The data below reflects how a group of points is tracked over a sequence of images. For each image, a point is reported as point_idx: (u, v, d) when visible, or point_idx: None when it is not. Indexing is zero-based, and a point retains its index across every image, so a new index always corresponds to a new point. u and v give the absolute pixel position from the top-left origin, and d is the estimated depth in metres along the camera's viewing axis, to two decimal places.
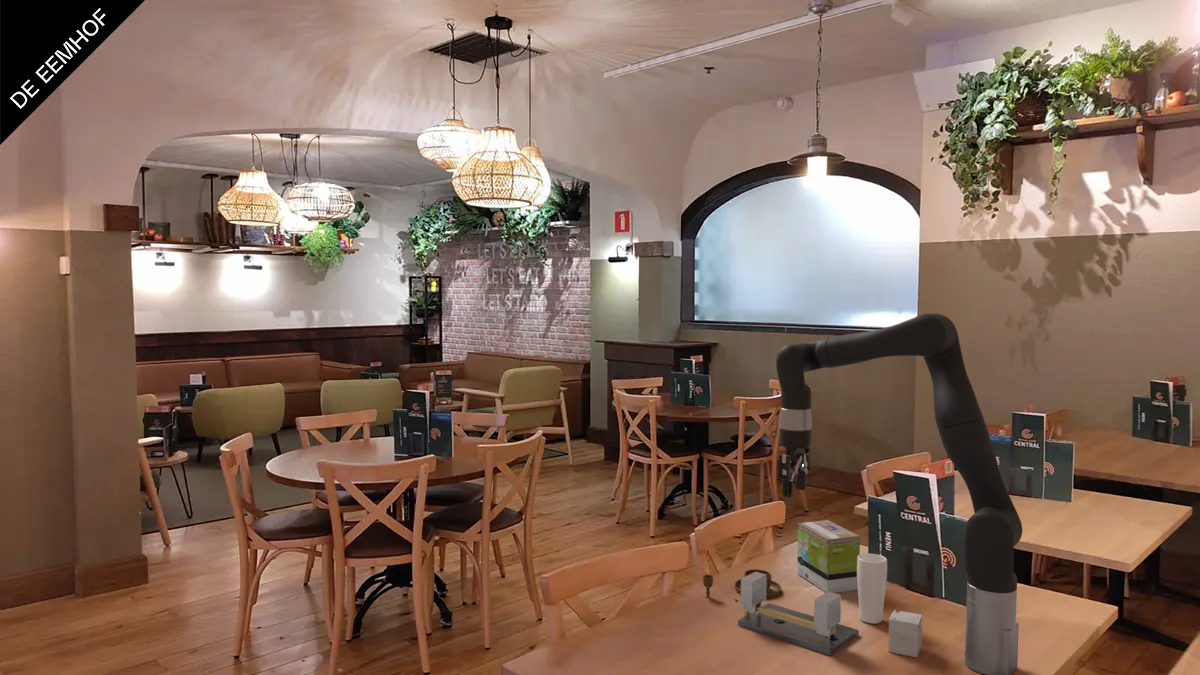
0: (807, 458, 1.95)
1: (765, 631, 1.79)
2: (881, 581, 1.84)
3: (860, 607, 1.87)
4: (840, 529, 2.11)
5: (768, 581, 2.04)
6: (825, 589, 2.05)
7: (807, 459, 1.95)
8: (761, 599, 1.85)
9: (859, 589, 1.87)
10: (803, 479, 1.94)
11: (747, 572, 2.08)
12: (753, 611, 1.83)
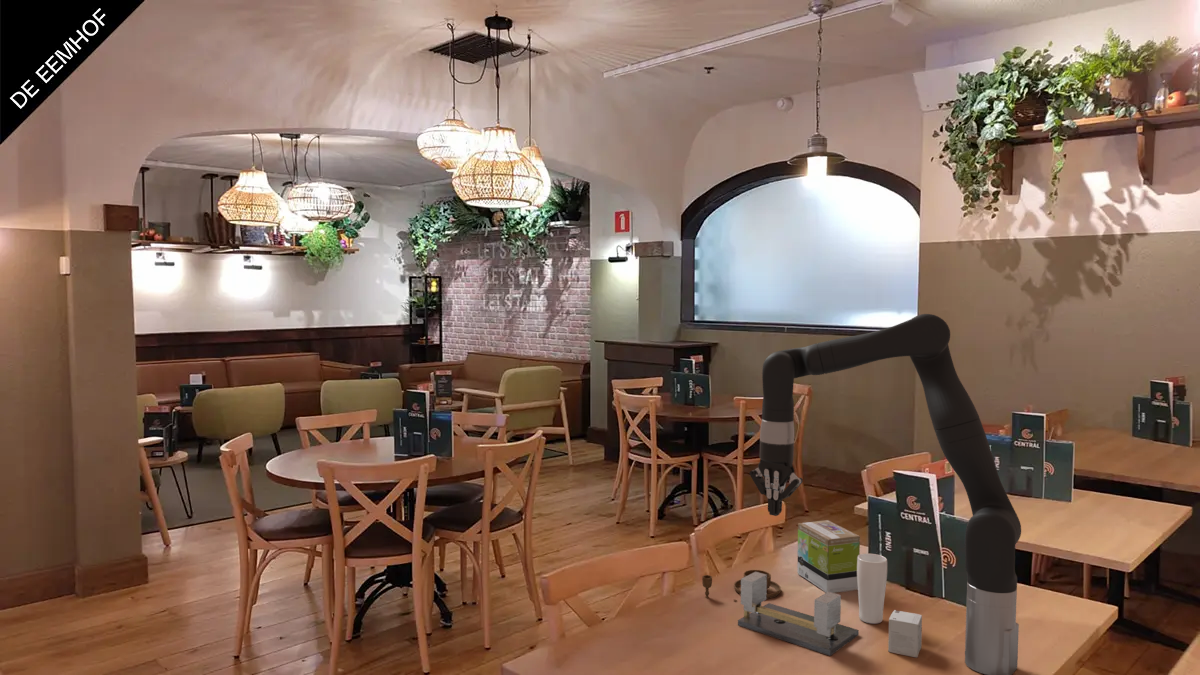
0: (763, 479, 1.83)
1: (765, 631, 1.79)
2: (881, 581, 1.84)
3: (860, 607, 1.87)
4: (840, 529, 2.11)
5: (767, 581, 2.03)
6: (825, 589, 2.05)
7: (763, 480, 1.83)
8: (761, 599, 1.85)
9: (859, 589, 1.87)
10: None
11: (746, 572, 2.08)
12: (753, 611, 1.83)
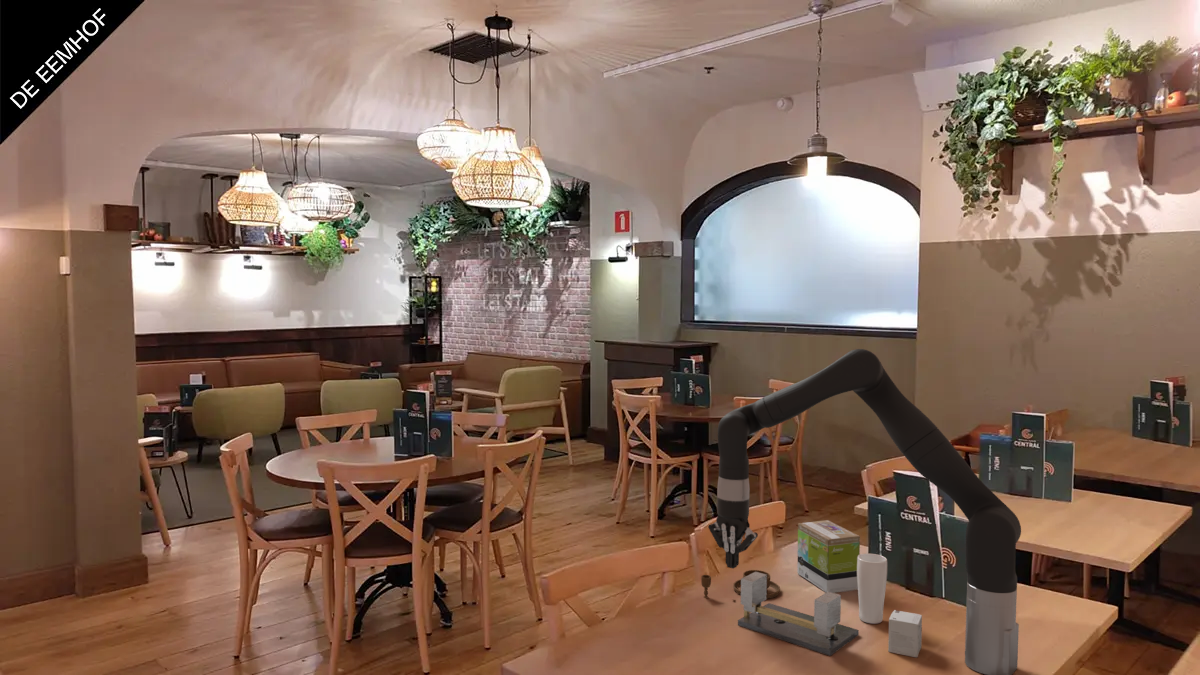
0: (721, 532, 1.92)
1: (765, 631, 1.79)
2: (881, 581, 1.84)
3: (860, 607, 1.87)
4: (840, 529, 2.11)
5: (767, 582, 2.03)
6: (825, 589, 2.05)
7: (722, 533, 1.92)
8: (761, 599, 1.85)
9: (859, 589, 1.87)
10: None
11: (746, 573, 2.08)
12: (753, 611, 1.83)
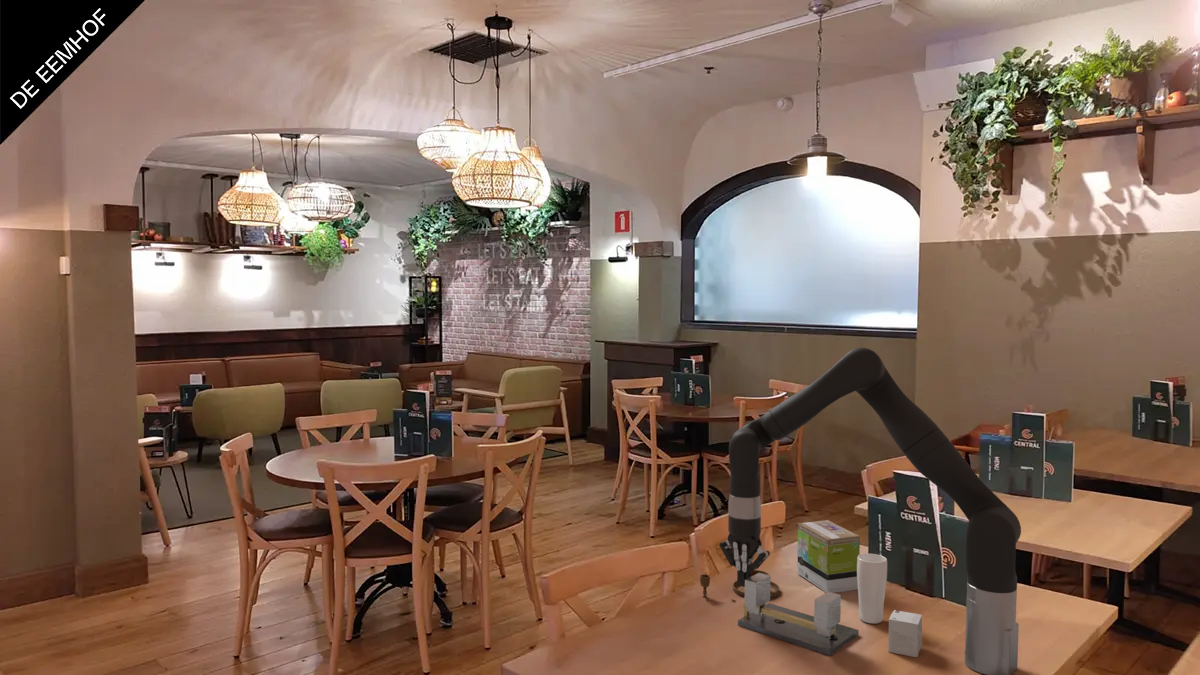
0: (732, 550, 1.90)
1: (765, 631, 1.79)
2: (881, 581, 1.84)
3: (860, 607, 1.87)
4: (840, 529, 2.11)
5: None
6: (825, 589, 2.05)
7: (733, 551, 1.90)
8: (765, 600, 1.84)
9: (859, 589, 1.87)
10: None
11: None
12: (757, 612, 1.83)
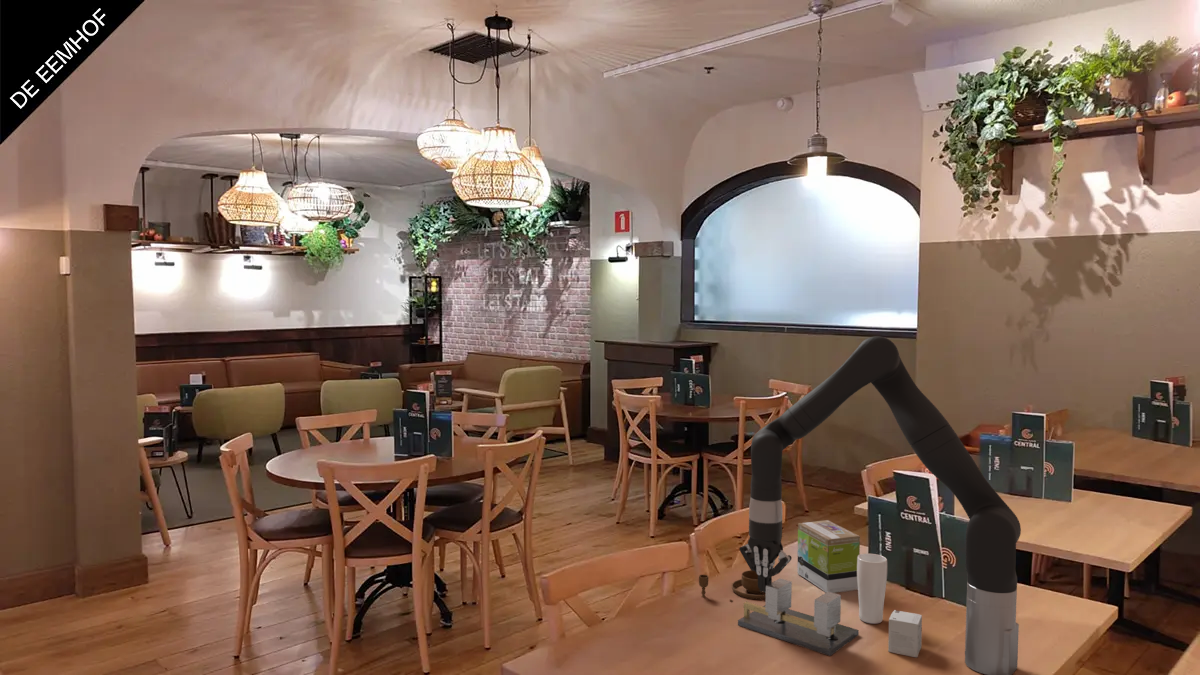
0: (753, 554, 1.86)
1: (765, 631, 1.79)
2: (881, 581, 1.84)
3: (860, 607, 1.87)
4: (840, 529, 2.11)
5: None
6: (825, 589, 2.05)
7: (753, 555, 1.86)
8: (786, 607, 1.81)
9: (859, 589, 1.87)
10: None
11: (745, 573, 2.08)
12: (778, 619, 1.79)
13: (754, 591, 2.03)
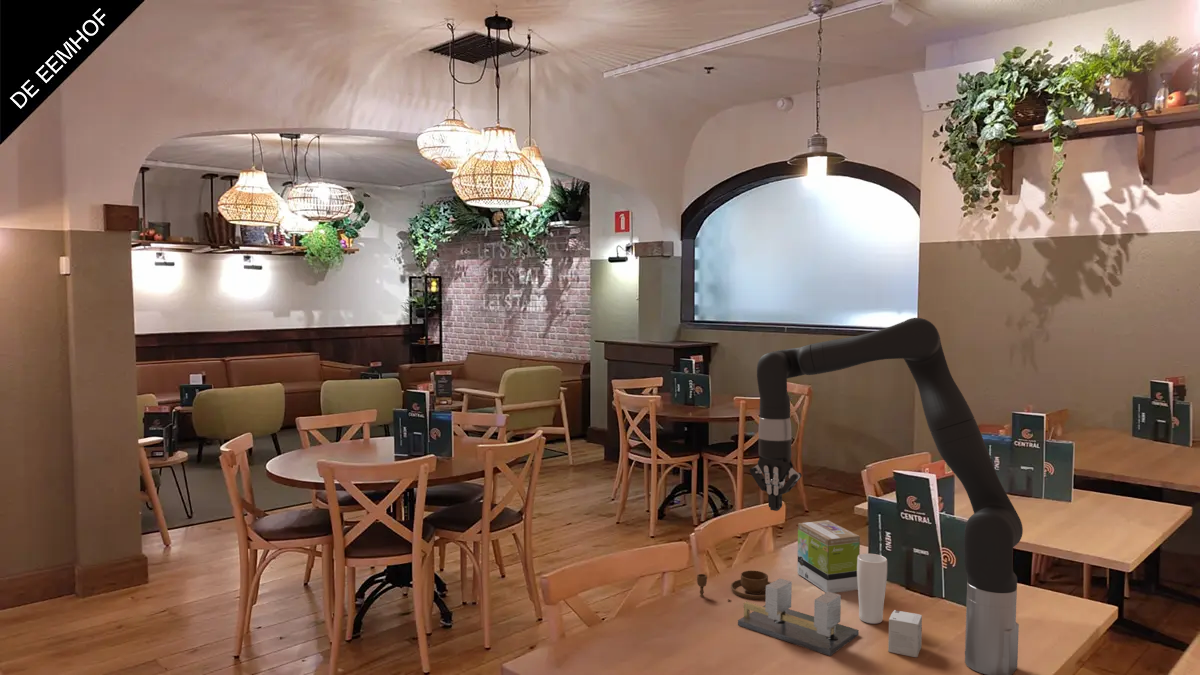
0: (762, 475, 1.89)
1: (765, 631, 1.79)
2: (881, 581, 1.84)
3: (860, 607, 1.87)
4: (840, 529, 2.11)
5: (764, 582, 2.03)
6: (825, 589, 2.05)
7: (763, 476, 1.89)
8: (786, 607, 1.81)
9: (859, 589, 1.87)
10: None
11: (744, 573, 2.08)
12: (778, 619, 1.79)
13: (753, 591, 2.03)
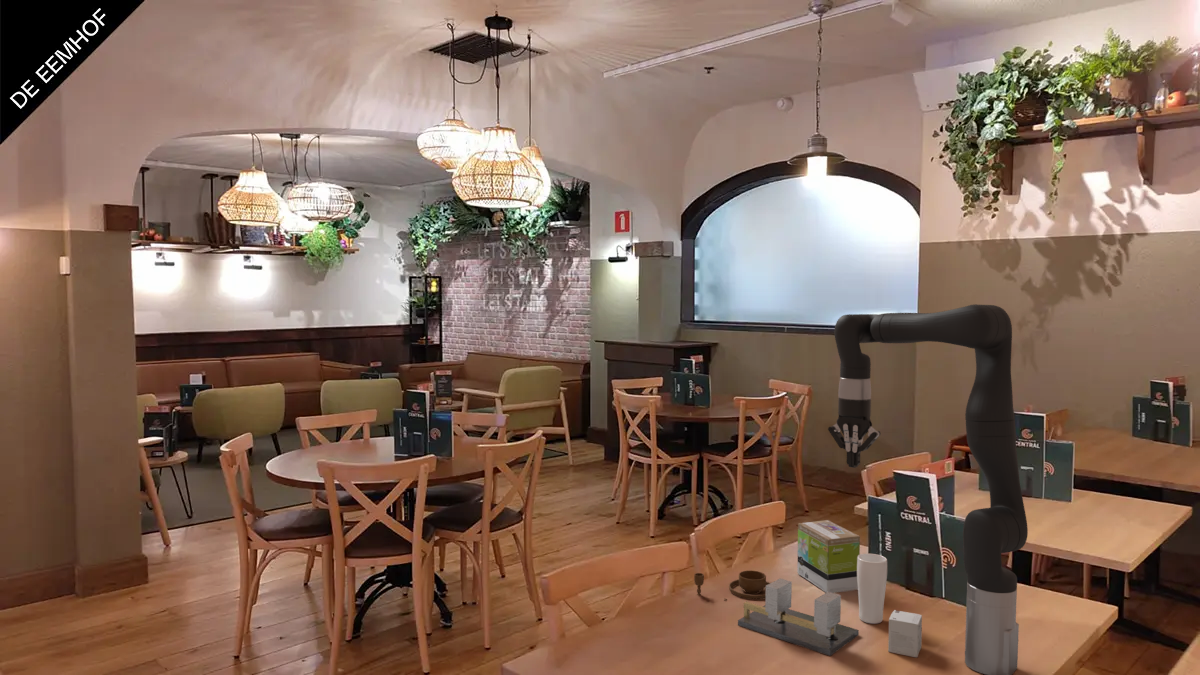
0: (841, 434, 1.96)
1: (765, 631, 1.79)
2: (881, 581, 1.84)
3: (860, 607, 1.87)
4: (840, 529, 2.11)
5: (761, 582, 2.03)
6: (825, 589, 2.05)
7: (841, 435, 1.96)
8: (786, 607, 1.81)
9: (859, 589, 1.87)
10: None
11: (743, 573, 2.08)
12: (778, 619, 1.79)
13: (750, 591, 2.03)
